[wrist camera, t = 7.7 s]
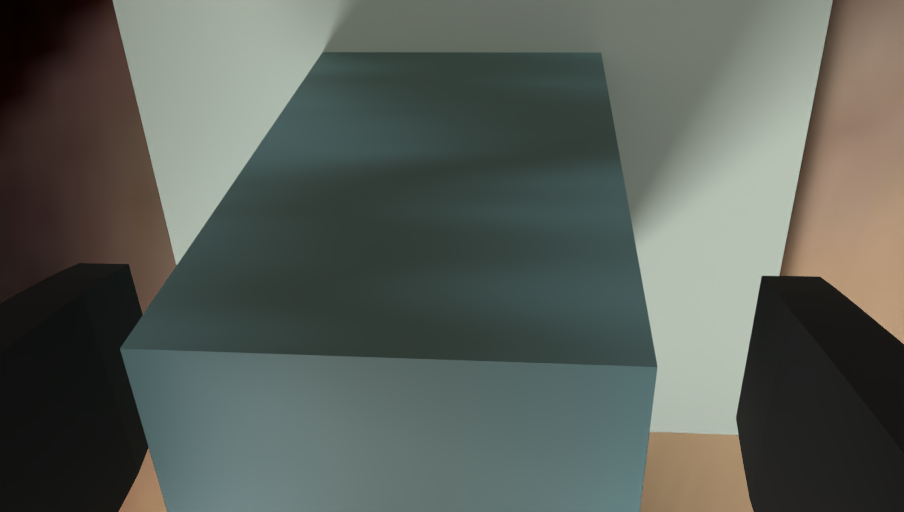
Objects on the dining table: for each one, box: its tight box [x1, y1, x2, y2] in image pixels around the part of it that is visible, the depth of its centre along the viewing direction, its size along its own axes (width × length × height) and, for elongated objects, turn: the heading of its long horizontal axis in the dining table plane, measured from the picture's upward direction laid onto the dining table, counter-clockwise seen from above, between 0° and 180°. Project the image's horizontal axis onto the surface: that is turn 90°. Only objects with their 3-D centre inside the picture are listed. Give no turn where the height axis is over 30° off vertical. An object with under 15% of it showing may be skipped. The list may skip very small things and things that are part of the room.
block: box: [120, 52, 657, 512], centre depth 10 cm, size 4×4×7 cm
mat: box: [113, 0, 833, 435], centre depth 14 cm, size 10×10×1 cm
